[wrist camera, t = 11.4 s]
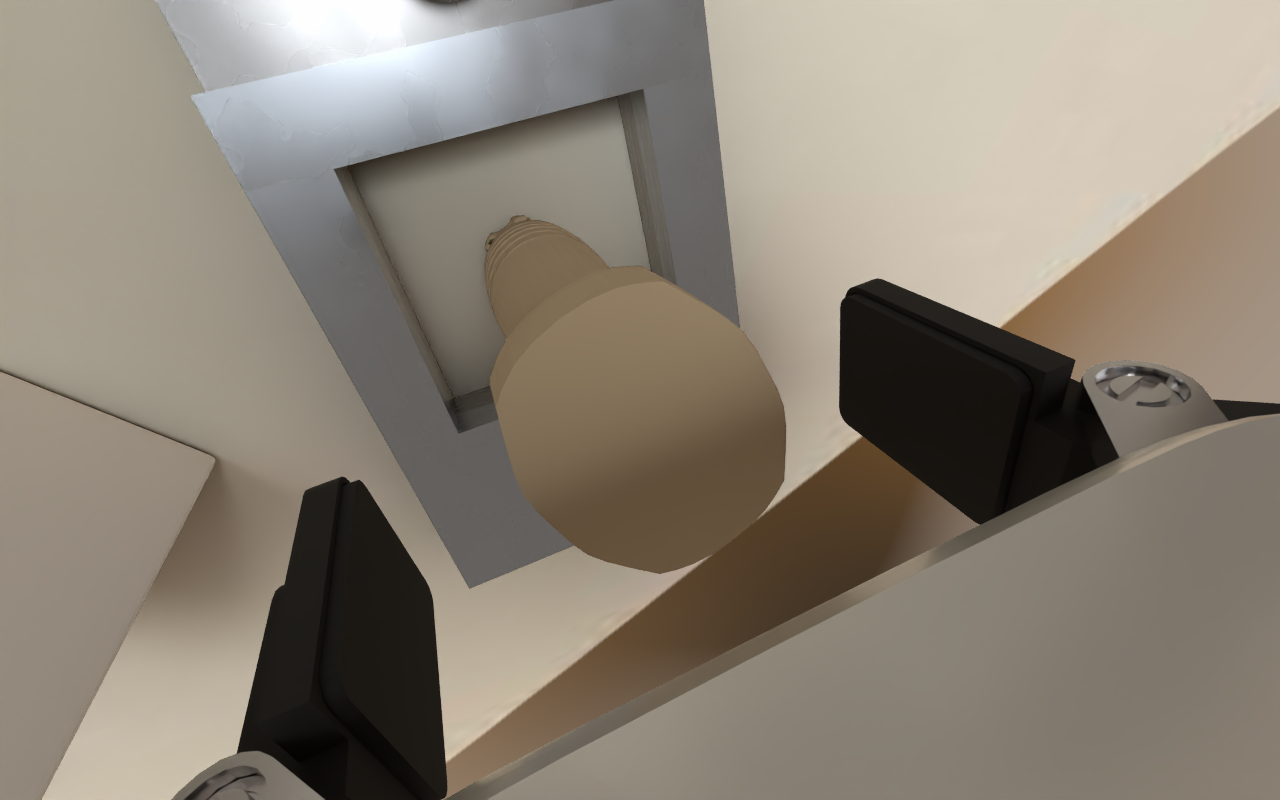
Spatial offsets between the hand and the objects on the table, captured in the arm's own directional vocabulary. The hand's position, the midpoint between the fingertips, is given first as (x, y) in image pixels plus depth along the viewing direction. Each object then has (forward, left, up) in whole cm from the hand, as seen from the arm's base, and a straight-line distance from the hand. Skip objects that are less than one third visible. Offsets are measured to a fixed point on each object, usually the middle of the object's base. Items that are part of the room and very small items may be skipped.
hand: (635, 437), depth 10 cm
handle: (0, 0, -15) cm, 15 cm away
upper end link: (+3, 0, -15) cm, 15 cm away
